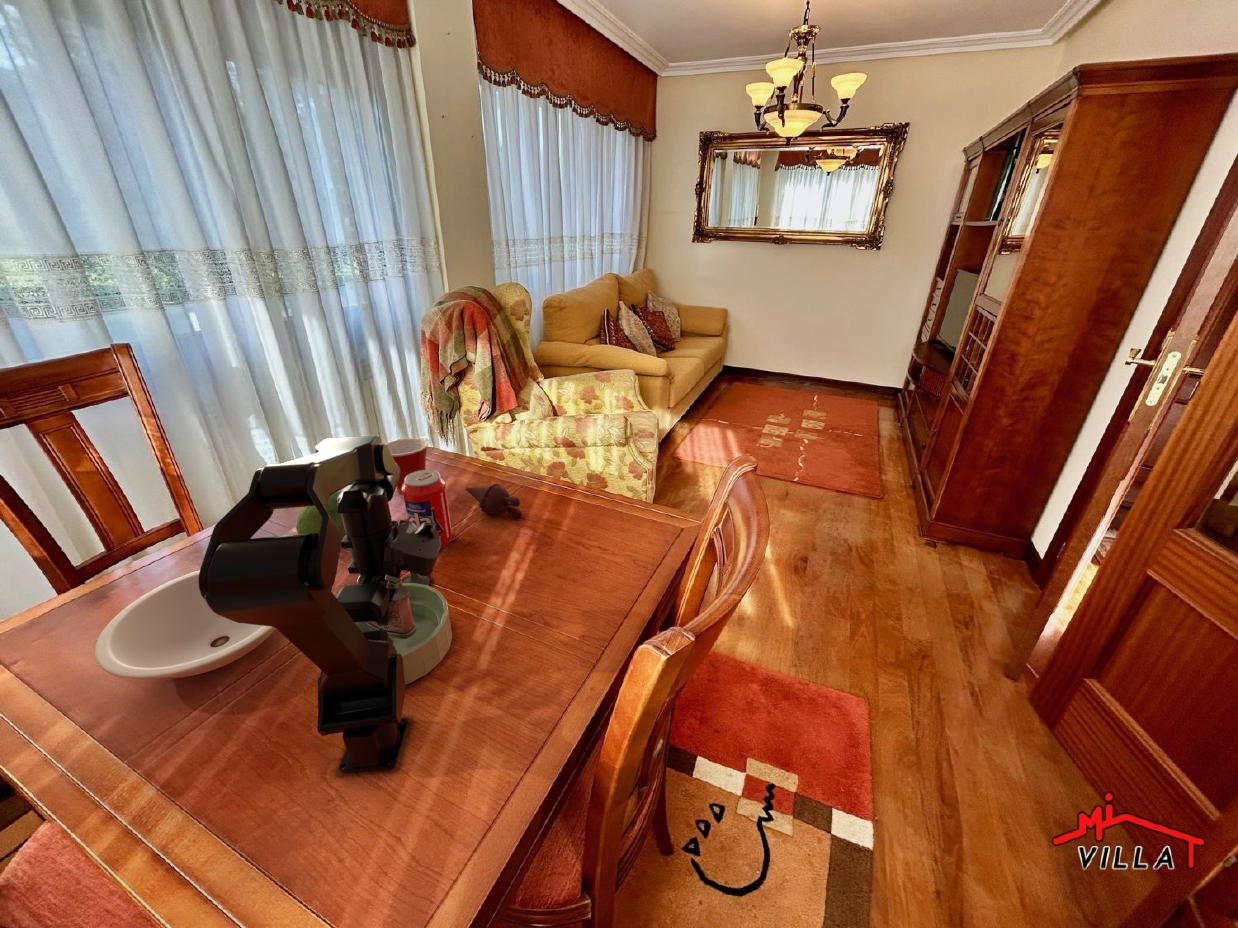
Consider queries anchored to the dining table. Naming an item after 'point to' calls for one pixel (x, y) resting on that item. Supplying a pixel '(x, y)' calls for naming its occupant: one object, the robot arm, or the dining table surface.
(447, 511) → the soda can
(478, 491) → the icecream
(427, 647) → the bowl
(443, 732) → the dining table surface
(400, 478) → the plastic cup
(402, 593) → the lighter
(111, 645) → the white sink basin
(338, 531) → the robot arm
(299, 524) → the fruit
